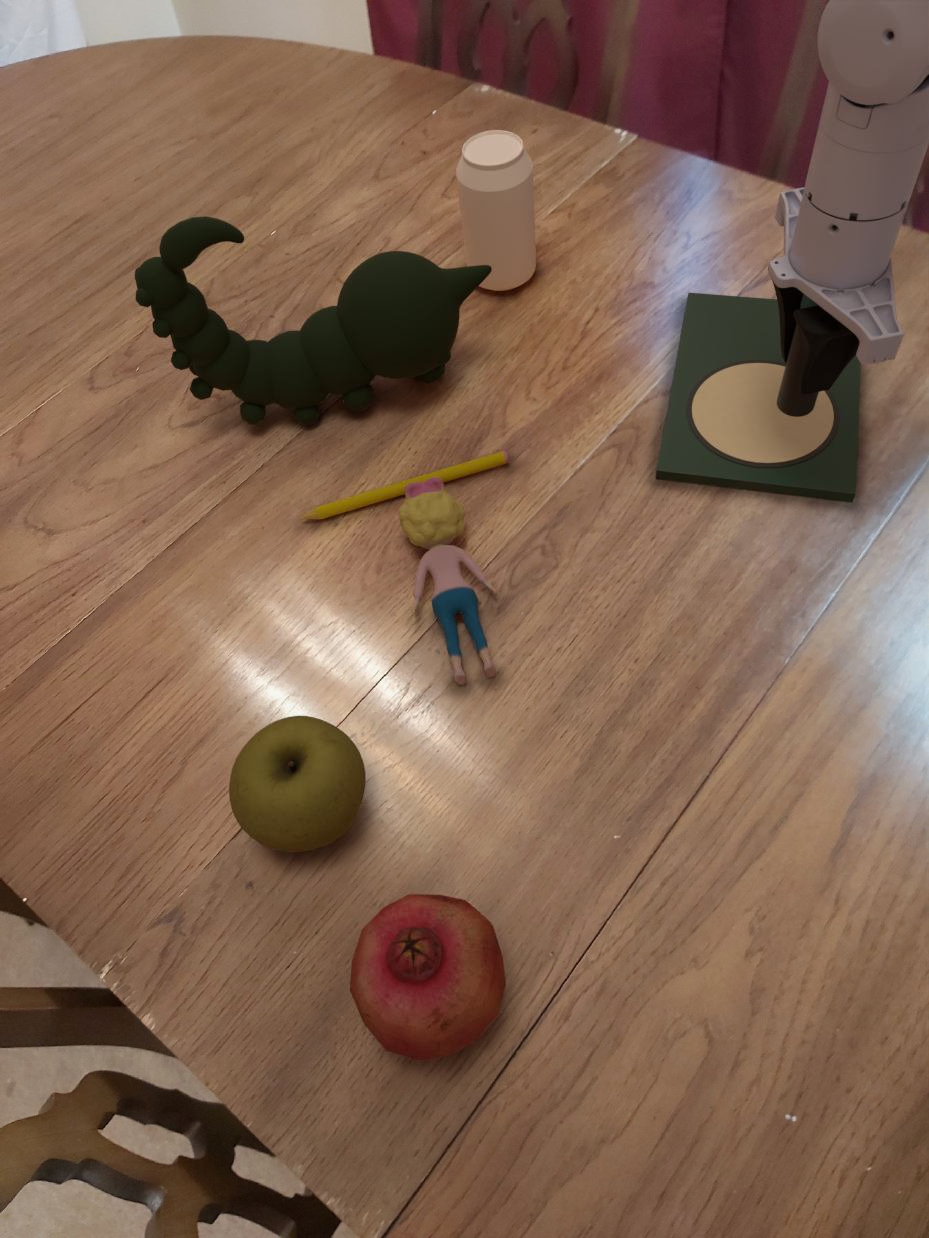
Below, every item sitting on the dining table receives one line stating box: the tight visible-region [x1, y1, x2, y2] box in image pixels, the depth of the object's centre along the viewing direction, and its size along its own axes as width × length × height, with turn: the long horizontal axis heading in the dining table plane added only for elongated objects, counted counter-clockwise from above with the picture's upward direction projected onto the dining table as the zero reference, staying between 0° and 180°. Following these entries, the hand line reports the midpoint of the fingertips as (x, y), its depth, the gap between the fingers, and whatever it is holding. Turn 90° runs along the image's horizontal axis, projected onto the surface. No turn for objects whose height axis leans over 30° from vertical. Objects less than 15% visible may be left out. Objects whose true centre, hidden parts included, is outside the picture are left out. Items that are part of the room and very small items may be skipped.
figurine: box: [398, 477, 498, 686], centre depth 64 cm, size 6×4×15 cm
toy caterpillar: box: [134, 216, 492, 427], centre depth 70 cm, size 9×19×25 cm
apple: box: [228, 715, 367, 853], centre depth 55 cm, size 8×8×7 cm
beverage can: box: [455, 129, 537, 292], centre depth 79 cm, size 6×6×12 cm
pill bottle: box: [777, 293, 819, 417], centre depth 62 cm, size 3×3×10 cm
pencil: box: [298, 449, 510, 520], centre depth 71 cm, size 16×1×1 cm, turn 107°
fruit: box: [349, 893, 507, 1062], centre depth 47 cm, size 8×8×10 cm
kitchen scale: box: [655, 292, 862, 503], centre depth 73 cm, size 20×14×1 cm
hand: (805, 372), depth 64 cm, fingers closed on pill bottle, 2 cm apart
